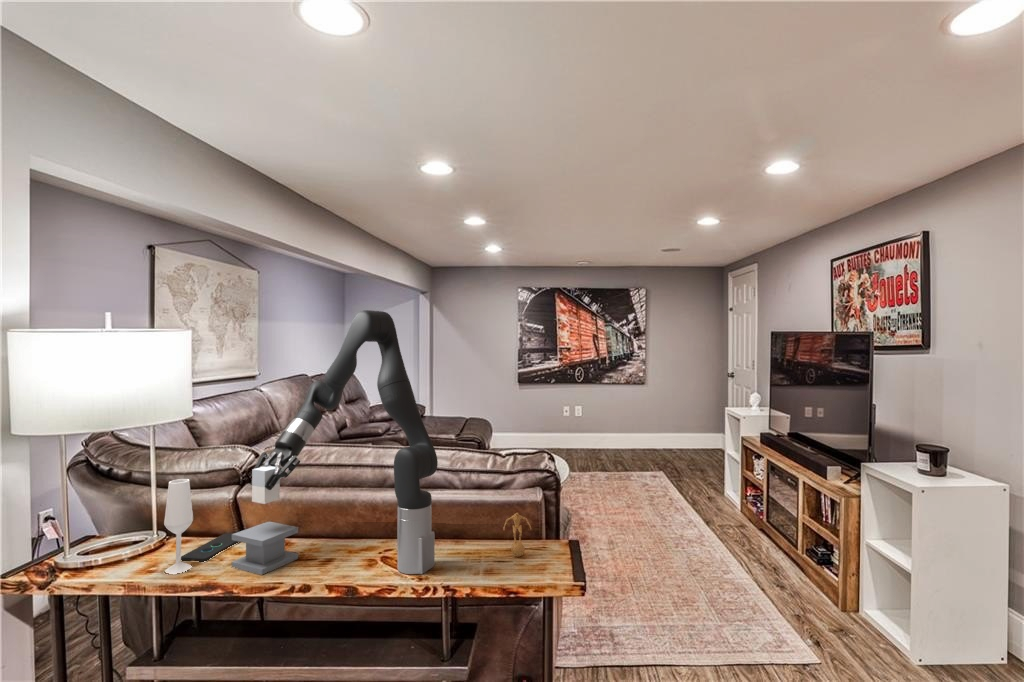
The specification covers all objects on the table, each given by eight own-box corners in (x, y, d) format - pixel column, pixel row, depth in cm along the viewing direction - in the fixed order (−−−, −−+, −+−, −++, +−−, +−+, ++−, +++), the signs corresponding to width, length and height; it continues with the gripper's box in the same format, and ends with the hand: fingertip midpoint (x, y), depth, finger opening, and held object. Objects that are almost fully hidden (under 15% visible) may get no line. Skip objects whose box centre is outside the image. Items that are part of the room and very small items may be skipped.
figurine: (504, 559, 148) (504, 517, 148) (502, 551, 154) (502, 510, 154) (533, 558, 149) (533, 516, 149) (530, 550, 155) (529, 509, 155)
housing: (279, 499, 147) (279, 467, 147) (264, 503, 143) (264, 471, 143) (267, 496, 149) (267, 465, 150) (252, 501, 145) (252, 469, 145)
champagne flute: (157, 574, 138) (158, 484, 139) (174, 564, 145) (175, 478, 145) (182, 574, 138) (183, 484, 139) (198, 564, 145) (198, 478, 145)
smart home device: (178, 556, 147) (225, 532, 167) (178, 563, 147) (225, 537, 167) (205, 558, 146) (249, 533, 166) (205, 564, 146) (249, 538, 166)
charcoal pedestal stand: (298, 558, 149) (298, 527, 149) (262, 575, 138) (262, 541, 138) (268, 551, 154) (268, 521, 154) (231, 567, 143) (231, 534, 143)
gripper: (270, 428, 156) (234, 477, 145) (305, 431, 150) (270, 482, 139) (285, 442, 161) (250, 491, 150) (319, 446, 155) (286, 497, 144)
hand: (260, 487), depth 144 cm, fingers closed on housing, 5 cm apart
